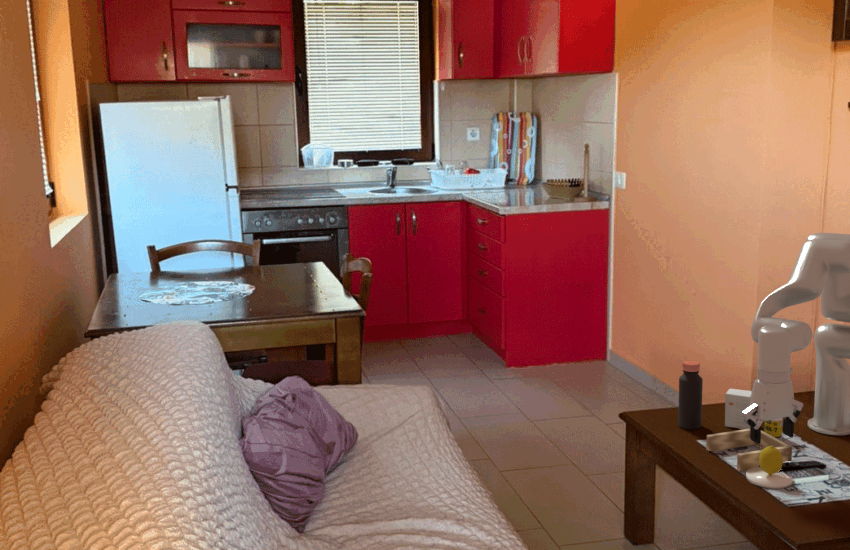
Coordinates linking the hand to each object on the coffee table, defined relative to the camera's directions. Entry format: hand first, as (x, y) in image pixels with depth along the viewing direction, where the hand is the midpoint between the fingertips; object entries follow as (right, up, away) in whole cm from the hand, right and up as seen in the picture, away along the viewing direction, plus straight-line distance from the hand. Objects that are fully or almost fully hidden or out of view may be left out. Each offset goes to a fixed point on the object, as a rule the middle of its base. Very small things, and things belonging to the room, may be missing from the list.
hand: (771, 438), depth 208 cm
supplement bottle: (+12, -5, +28) cm, 31 cm away
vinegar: (-8, -4, +39) cm, 40 cm away
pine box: (0, -8, +16) cm, 18 cm away
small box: (+6, -4, +38) cm, 39 cm away
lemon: (0, -10, +2) cm, 10 cm away
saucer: (0, -11, +1) cm, 11 cm away
